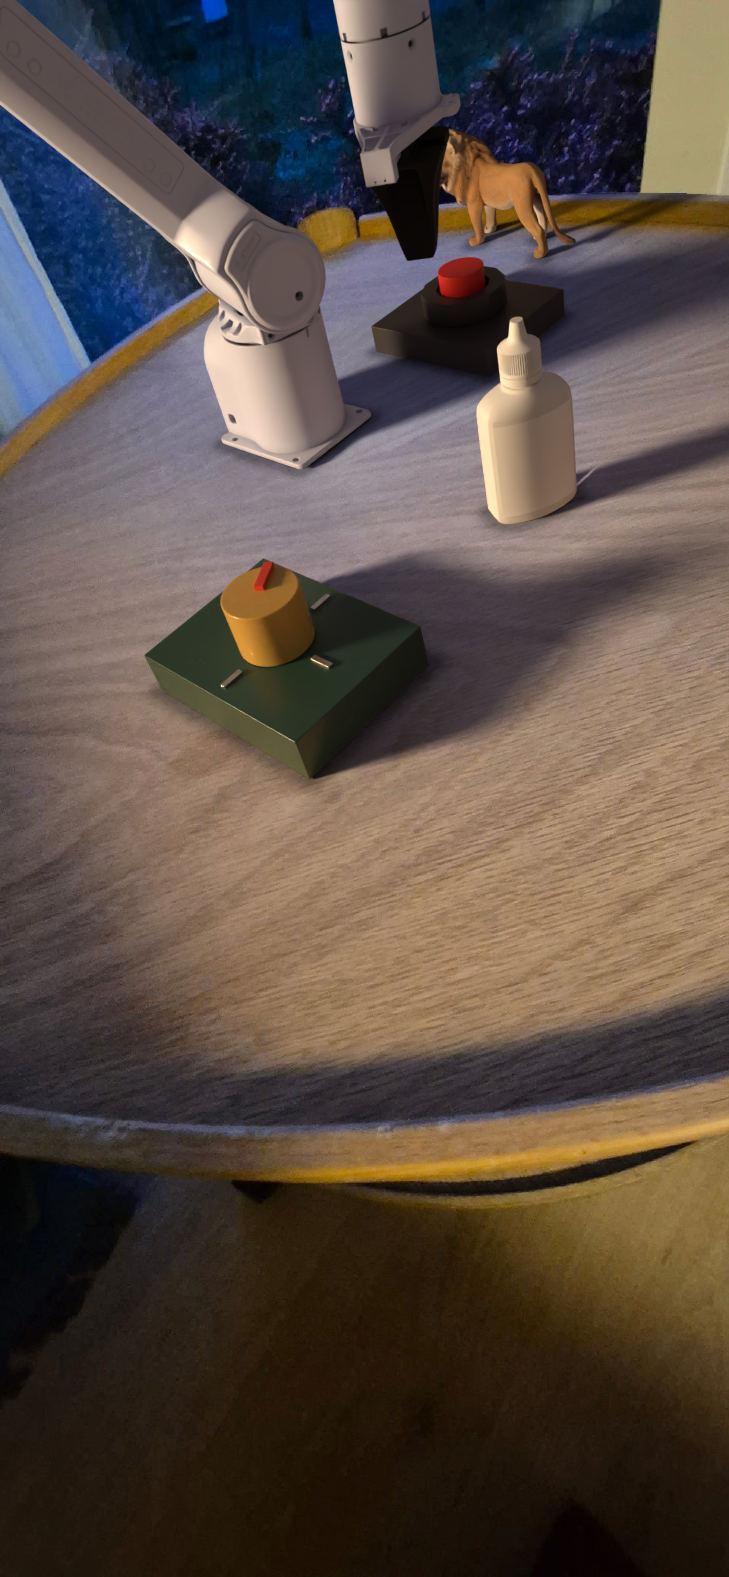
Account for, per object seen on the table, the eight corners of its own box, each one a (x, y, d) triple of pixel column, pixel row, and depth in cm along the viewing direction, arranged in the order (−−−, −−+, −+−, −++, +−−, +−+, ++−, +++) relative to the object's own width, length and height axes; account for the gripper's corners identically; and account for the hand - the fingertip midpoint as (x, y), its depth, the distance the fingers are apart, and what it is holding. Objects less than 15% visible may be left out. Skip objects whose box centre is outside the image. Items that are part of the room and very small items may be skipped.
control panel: (162, 691, 57) (142, 653, 55) (276, 595, 61) (262, 555, 58) (310, 780, 50) (294, 740, 48) (429, 665, 54) (420, 623, 51)
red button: (431, 297, 75) (428, 275, 74) (459, 277, 77) (456, 254, 75) (466, 304, 73) (463, 280, 72) (495, 282, 75) (492, 259, 73)
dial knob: (304, 667, 51) (285, 613, 48) (230, 667, 52) (207, 615, 50) (323, 613, 54) (306, 559, 51) (252, 614, 55) (232, 562, 52)
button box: (376, 352, 79) (366, 304, 76) (450, 297, 83) (444, 248, 80) (489, 378, 73) (483, 326, 70) (565, 316, 76) (562, 265, 73)
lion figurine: (428, 249, 90) (412, 142, 84) (461, 224, 92) (448, 118, 86) (560, 263, 82) (554, 146, 76) (592, 236, 84) (589, 119, 78)
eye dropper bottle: (575, 522, 59) (566, 332, 50) (485, 528, 61) (461, 345, 52) (578, 481, 62) (569, 294, 53) (492, 488, 63) (470, 307, 54)
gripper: (426, 51, 53) (459, 295, 63) (466, -20, 62) (489, 205, 72) (309, 75, 55) (360, 308, 66) (363, 3, 64) (400, 219, 74)
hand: (421, 255), depth 69 cm, fingers closed
